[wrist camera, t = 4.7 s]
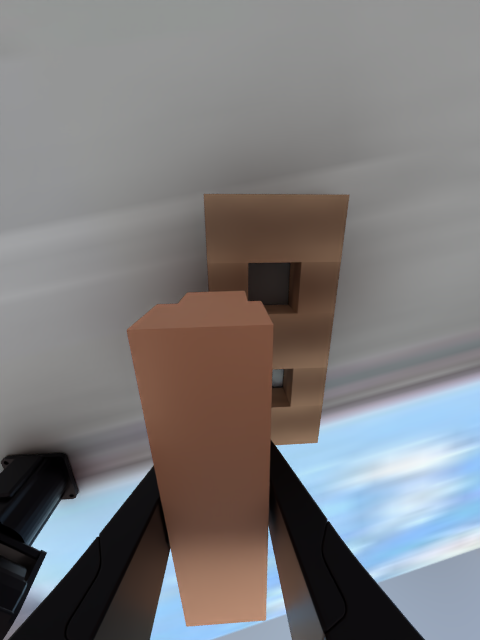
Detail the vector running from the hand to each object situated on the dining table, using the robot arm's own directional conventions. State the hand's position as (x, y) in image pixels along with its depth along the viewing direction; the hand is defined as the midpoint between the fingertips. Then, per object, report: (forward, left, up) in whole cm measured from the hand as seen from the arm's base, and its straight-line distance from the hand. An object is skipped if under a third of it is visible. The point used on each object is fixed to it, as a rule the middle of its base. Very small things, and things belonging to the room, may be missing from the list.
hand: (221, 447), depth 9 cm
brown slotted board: (0, -4, -13) cm, 14 cm away
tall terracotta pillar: (0, 0, -3) cm, 2 cm away
